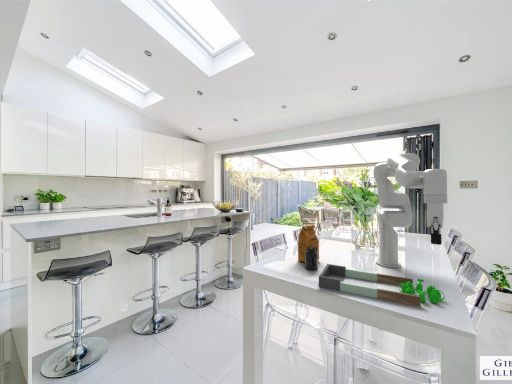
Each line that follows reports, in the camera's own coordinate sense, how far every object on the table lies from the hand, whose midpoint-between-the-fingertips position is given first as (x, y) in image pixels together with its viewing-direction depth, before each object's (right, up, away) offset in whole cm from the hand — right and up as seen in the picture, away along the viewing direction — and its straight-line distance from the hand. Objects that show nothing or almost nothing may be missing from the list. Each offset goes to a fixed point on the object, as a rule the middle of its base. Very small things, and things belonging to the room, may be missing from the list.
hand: (436, 242), depth 89 cm
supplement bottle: (-42, -23, +34) cm, 58 cm away
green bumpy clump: (-5, -23, +1) cm, 23 cm away
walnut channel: (-13, -22, +5) cm, 26 cm away
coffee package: (-40, -23, +48) cm, 66 cm away
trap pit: (-35, -22, +17) cm, 45 cm away
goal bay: (-25, -22, +11) cm, 36 cm away
